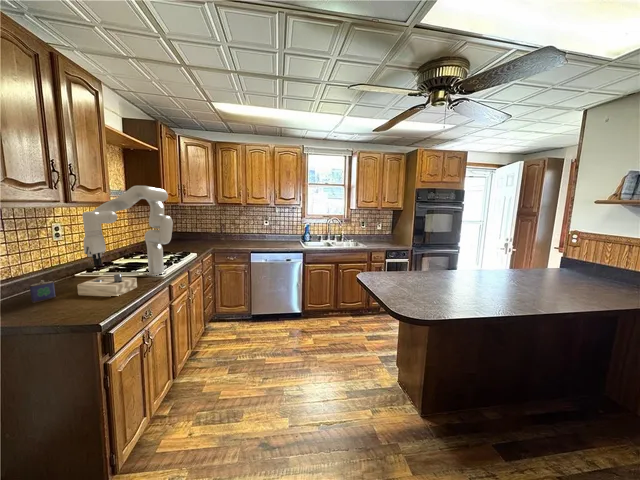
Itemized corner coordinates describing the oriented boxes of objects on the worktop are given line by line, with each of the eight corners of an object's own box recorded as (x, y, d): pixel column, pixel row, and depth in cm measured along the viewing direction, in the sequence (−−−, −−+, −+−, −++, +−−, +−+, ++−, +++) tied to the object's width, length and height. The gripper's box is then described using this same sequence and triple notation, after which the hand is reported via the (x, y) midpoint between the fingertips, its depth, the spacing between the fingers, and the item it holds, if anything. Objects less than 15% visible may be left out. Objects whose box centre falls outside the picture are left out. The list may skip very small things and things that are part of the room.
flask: (54, 296, 148) (52, 277, 147) (56, 297, 147) (54, 278, 145) (30, 302, 140) (28, 281, 138) (33, 303, 139) (30, 282, 137)
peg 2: (117, 283, 160) (117, 273, 159) (123, 283, 160) (123, 274, 159) (113, 284, 156) (112, 275, 155) (119, 285, 156) (118, 275, 155)
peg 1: (98, 288, 161) (97, 279, 160) (104, 288, 161) (103, 279, 160) (93, 290, 157) (92, 281, 156) (99, 290, 157) (98, 281, 156)
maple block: (102, 285, 167) (101, 276, 166) (137, 287, 166) (136, 277, 165) (78, 295, 151) (77, 284, 150) (116, 296, 151) (116, 286, 150)
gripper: (98, 231, 161) (102, 261, 165) (75, 235, 147) (80, 268, 150) (110, 231, 161) (114, 261, 165) (88, 235, 146) (93, 268, 150)
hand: (97, 264), depth 157 cm, fingers closed
